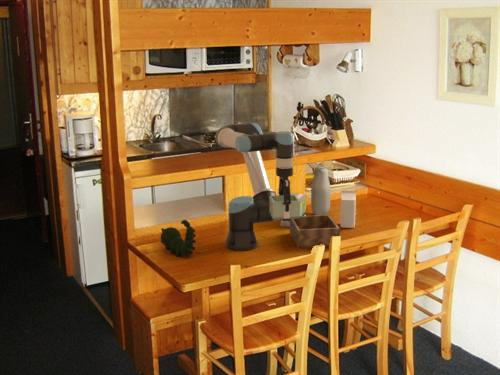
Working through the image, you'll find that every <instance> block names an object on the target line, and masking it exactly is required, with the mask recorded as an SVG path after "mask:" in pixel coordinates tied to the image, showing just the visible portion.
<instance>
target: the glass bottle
mask: <svg viewBox="0 0 500 375" xmlns="http://www.w3.org/2000/svg"><path fill="white" fill-rule="evenodd" d="M329 179H330V178H329V170H328V168H327V166H325V165H317V166H316V167H314V170H313V179H312V182H311V187H310V197H311V198H310V207H311V211H312V213H313V214H314V215H328V213H329V212H330V209H331V208H330V207H331V193H332V192H331V191H332V190H331V183H330V180H329Z"/></svg>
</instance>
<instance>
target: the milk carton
mask: <svg viewBox="0 0 500 375" xmlns="http://www.w3.org/2000/svg"><path fill="white" fill-rule="evenodd" d="M356 196H357V194H356V190H341V196H340V223H339V224H340V226H339V228H346V229H347V228H349V229H355V225H356V200H357V199H356Z"/></svg>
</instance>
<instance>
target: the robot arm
mask: <svg viewBox="0 0 500 375" xmlns="http://www.w3.org/2000/svg"><path fill="white" fill-rule="evenodd" d="M214 138H215V142H216V143H217V145H218V146H220V147H222V148H227V149H228V148H233V149H235V150H237V152H238V153H241V154H242V155H243V159H244V161H245V162H244V163H245V166H246V169H247V173H248V177H249V180H250V183H251V186H252V187H251V188H252V190H253V196H249V195H240V196H237V197H234V198H232V199H231V200H230V201H229V202H228V209H227V211H228V232H227V236H226V239H225V247H226V248H227V249H229V250H232V251H241V252H243V251H250V250H253V249H256V248H257V247H258V239H257V237H256V233H255V231H254V224H263V223H270V222H271V223H273V222H276V221H279V220H280V219H278V220H273V218H272V216H271V214H270V203H269V196H274V195H277V193H278V195H283V196H284V203H283V205H284V218H290V204H291V197H290V193H291V181H290V179H289V177H293V175H294V167H293V166H294V162H295V159H294V134H293V132H291V131H286V130H285V131H284V130H283V131H282V130H281V131H278V132H276V131H269V132H267V133H263V131H262V128H261V126H260V125H259V124H258V123H255V122H246V123H232V124H226V125H225V124H224V125H223V126H221V127H220V128H218V129H217V131H216V133H215V137H214ZM265 151H275V166H276V167H275V176H277V177H278V179H279V180H278V192H277V193H276V191H275V190H273V189H272V187H271V184H270V180H269V176H268V173H267V171H266V168H265V163H264V160H263V157H262V154H261V152H265Z"/></svg>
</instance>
